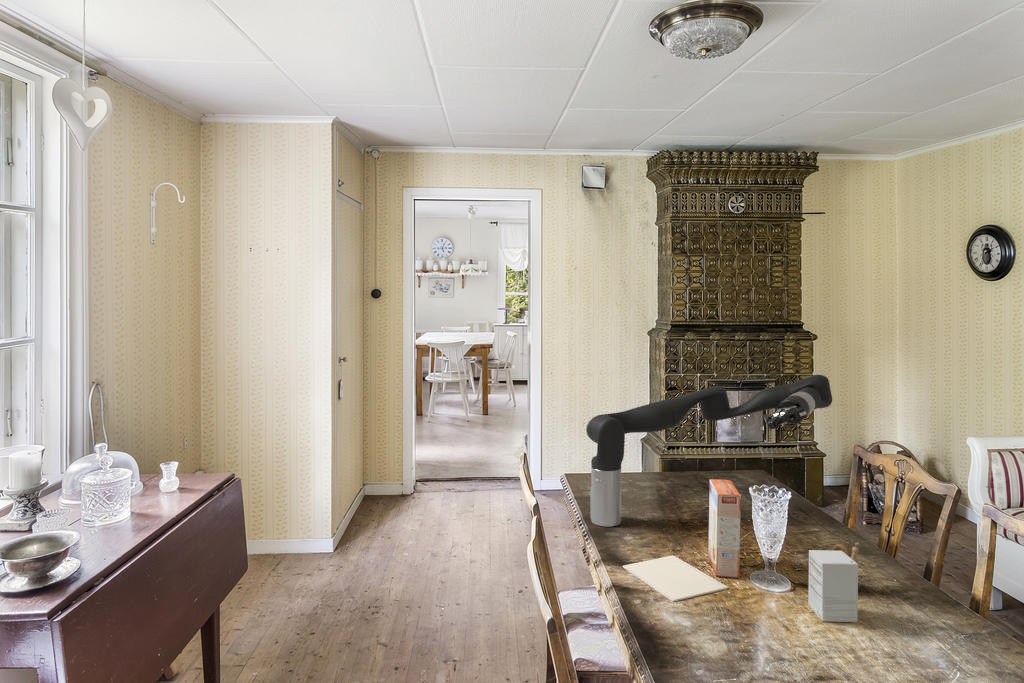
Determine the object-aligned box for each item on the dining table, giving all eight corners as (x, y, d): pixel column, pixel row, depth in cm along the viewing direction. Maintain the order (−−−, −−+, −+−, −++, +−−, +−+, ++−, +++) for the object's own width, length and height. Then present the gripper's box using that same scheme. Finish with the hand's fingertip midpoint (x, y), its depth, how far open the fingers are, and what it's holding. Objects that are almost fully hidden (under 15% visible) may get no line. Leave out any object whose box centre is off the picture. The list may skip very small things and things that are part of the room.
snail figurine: (850, 596, 134) (851, 545, 133) (824, 585, 139) (824, 536, 139) (864, 591, 136) (865, 540, 136) (838, 580, 142) (839, 532, 141)
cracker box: (740, 579, 143) (741, 494, 142) (715, 577, 144) (715, 493, 143) (731, 556, 157) (732, 479, 156) (707, 554, 158) (708, 477, 157)
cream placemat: (622, 567, 150) (622, 565, 150) (673, 556, 156) (673, 555, 156) (672, 601, 132) (672, 600, 132) (727, 588, 138) (727, 586, 138)
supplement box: (841, 606, 130) (842, 549, 129) (858, 623, 122) (859, 564, 122) (807, 604, 130) (808, 548, 130) (821, 621, 123) (822, 562, 122)
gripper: (771, 399, 179) (745, 416, 167) (814, 391, 169) (789, 409, 157) (780, 422, 178) (754, 441, 167) (823, 415, 168) (799, 435, 157)
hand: (771, 425), depth 162 cm, fingers closed
